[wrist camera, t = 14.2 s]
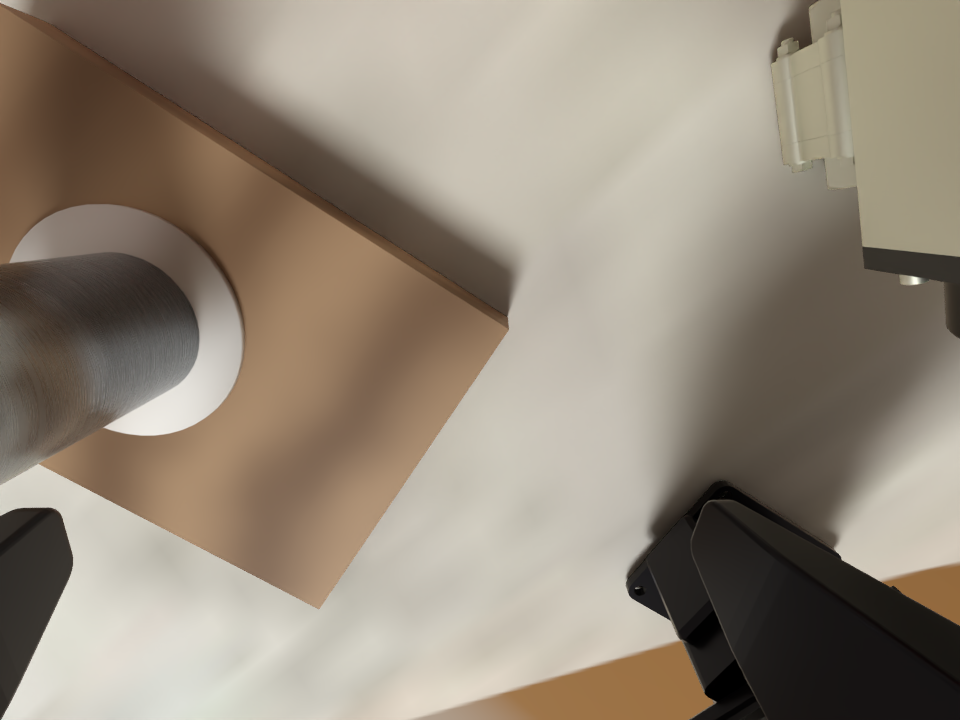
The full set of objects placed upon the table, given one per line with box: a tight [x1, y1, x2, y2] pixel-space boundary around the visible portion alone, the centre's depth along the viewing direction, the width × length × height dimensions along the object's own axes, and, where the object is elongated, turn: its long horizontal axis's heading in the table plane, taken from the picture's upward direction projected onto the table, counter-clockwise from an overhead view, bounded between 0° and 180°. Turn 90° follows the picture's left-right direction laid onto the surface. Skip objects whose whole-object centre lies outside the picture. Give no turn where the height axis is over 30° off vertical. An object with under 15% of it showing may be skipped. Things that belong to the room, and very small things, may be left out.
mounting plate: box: [0, 3, 509, 609], centre depth 18 cm, size 18×14×2 cm
